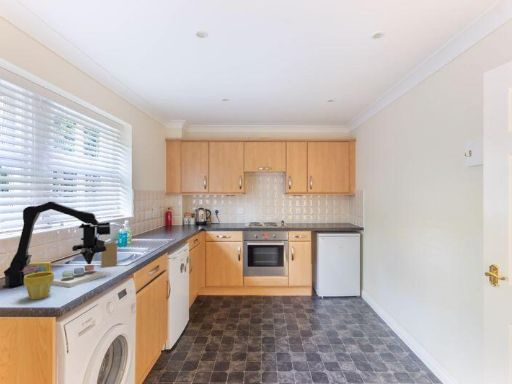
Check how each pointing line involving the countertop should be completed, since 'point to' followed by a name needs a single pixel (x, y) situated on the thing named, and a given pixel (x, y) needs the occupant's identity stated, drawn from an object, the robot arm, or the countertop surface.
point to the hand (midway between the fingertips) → (89, 264)
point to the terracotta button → (89, 267)
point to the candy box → (37, 267)
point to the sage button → (67, 273)
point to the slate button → (78, 270)
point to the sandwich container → (109, 255)
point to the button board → (77, 278)
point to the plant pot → (38, 284)
